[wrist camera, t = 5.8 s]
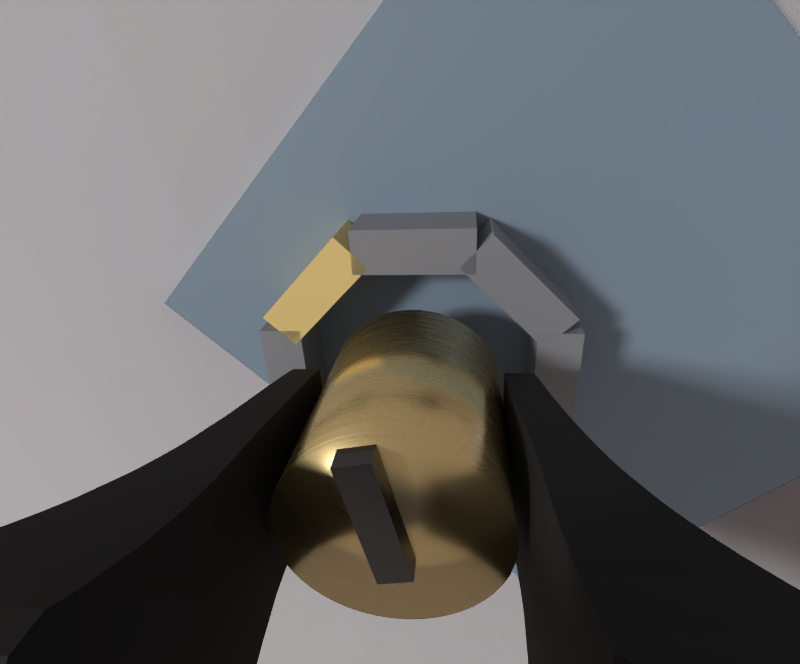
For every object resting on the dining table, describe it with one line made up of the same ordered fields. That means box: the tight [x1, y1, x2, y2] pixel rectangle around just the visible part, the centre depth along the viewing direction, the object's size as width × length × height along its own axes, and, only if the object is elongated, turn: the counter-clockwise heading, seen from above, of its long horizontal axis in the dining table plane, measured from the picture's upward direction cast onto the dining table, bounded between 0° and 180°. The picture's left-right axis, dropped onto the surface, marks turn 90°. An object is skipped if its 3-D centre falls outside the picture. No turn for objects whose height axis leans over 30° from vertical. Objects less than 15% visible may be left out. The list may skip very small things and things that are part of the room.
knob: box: [269, 310, 519, 619], centre depth 10 cm, size 4×4×5 cm
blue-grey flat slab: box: [165, 0, 800, 576], centre depth 12 cm, size 16×14×2 cm
